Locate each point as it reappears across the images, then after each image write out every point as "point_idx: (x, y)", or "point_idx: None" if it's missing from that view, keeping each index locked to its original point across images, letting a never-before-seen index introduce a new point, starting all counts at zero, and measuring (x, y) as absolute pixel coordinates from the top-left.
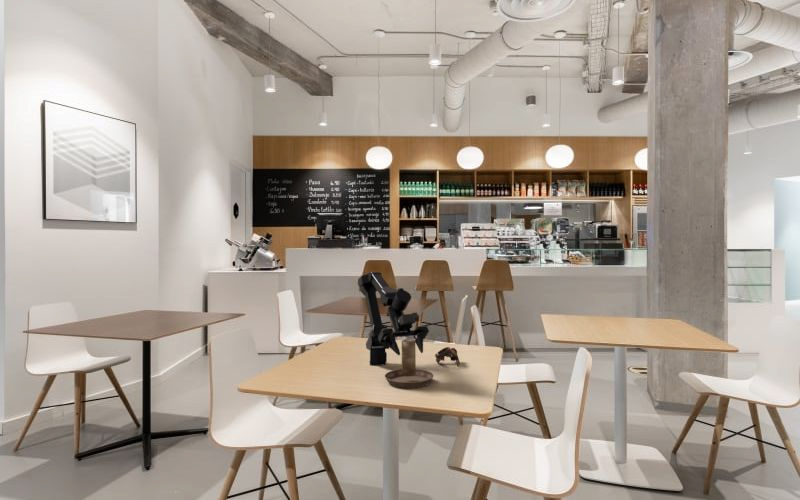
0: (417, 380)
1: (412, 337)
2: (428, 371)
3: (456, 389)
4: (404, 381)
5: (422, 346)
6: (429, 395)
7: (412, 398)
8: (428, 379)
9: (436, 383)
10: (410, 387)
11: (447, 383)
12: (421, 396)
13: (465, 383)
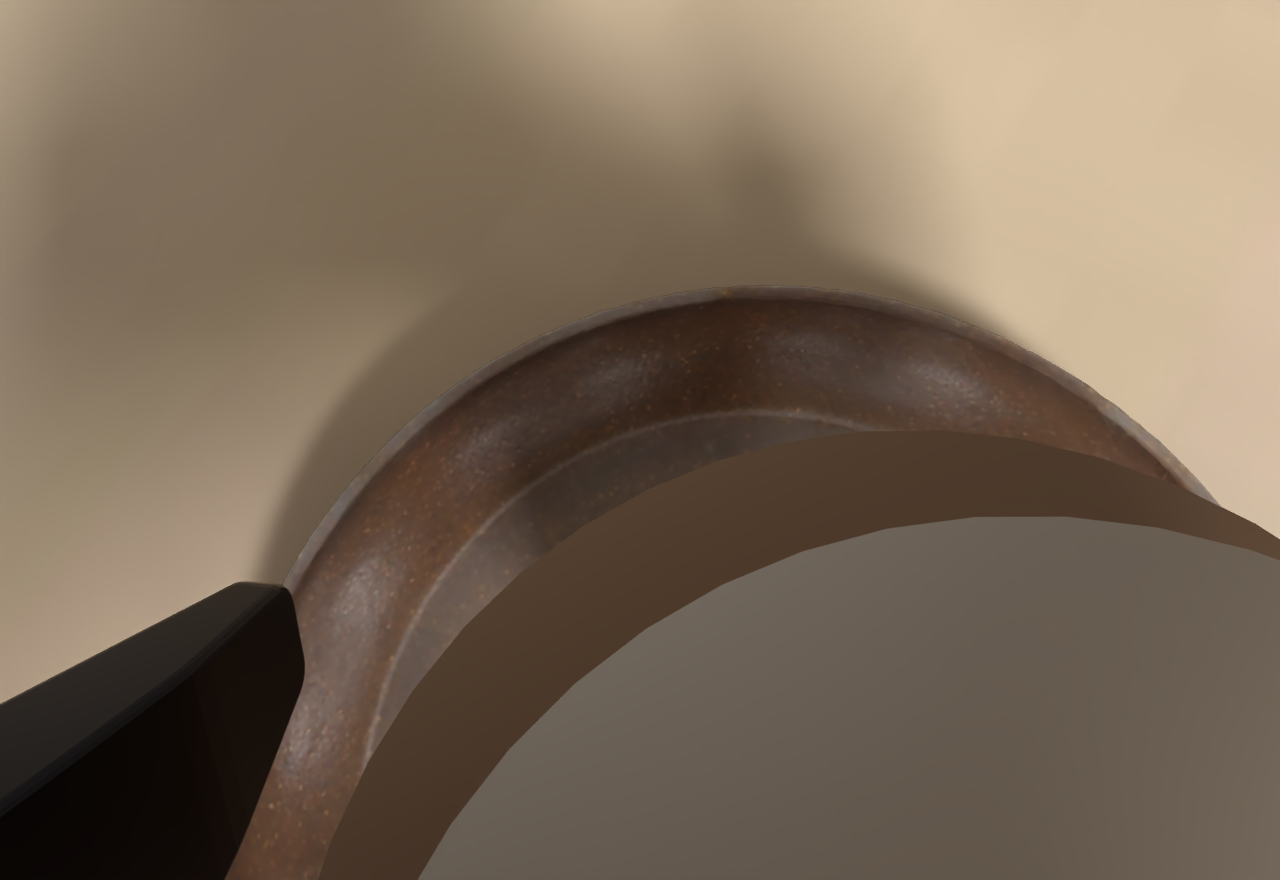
0: None
1: (675, 715)
2: None
3: (332, 79)
4: None
5: (60, 688)
6: (844, 19)
7: (1145, 8)
8: (597, 313)
9: None
10: None
11: (225, 377)
12: (976, 28)
13: (3, 252)
